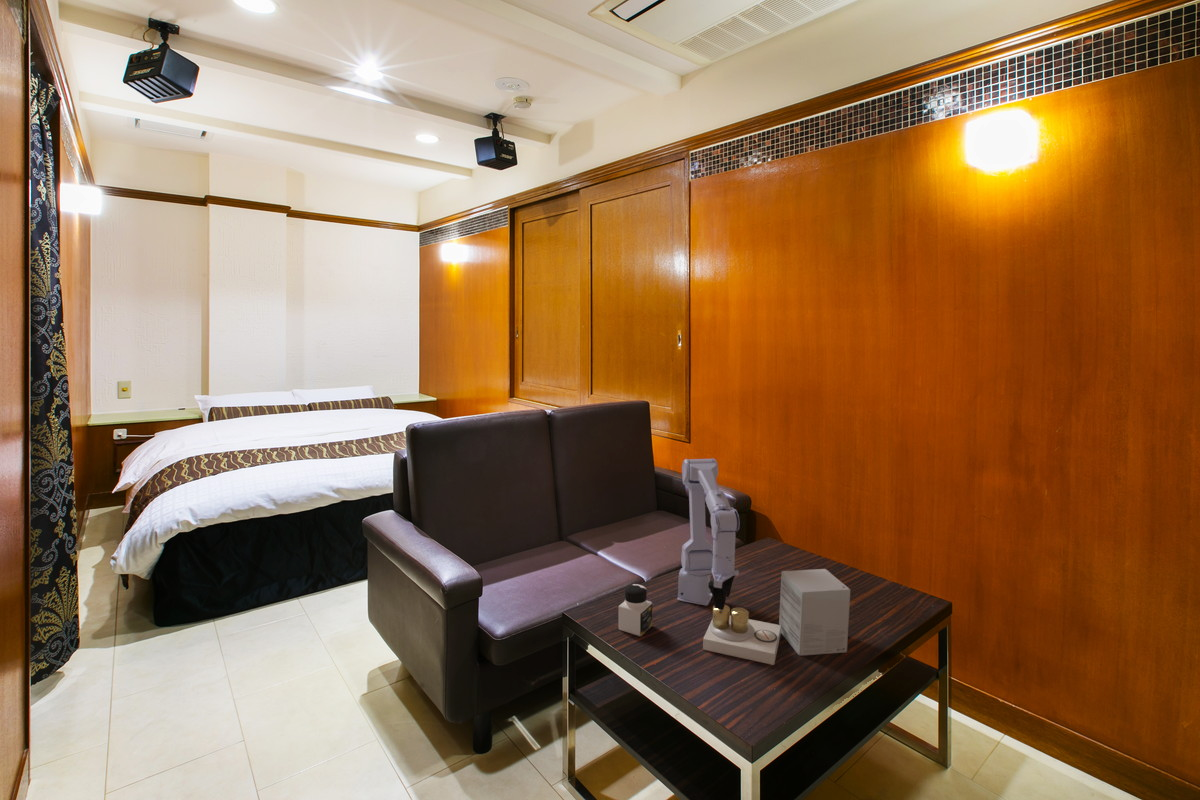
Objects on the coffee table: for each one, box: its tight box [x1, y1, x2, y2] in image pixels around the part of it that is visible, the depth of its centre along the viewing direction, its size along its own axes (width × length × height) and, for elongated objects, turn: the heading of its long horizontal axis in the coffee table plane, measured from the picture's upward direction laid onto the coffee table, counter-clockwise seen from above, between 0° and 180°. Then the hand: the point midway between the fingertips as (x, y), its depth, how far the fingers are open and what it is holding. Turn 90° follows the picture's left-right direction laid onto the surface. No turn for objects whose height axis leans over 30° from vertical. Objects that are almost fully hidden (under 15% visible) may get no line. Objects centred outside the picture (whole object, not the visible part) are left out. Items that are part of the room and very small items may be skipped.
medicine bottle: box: [618, 583, 653, 637], centre depth 163 cm, size 7×7×12 cm
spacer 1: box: [712, 604, 731, 630], centre depth 158 cm, size 4×4×5 cm
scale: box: [702, 615, 782, 666], centre depth 156 cm, size 18×15×4 cm
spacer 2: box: [730, 606, 750, 634], centre depth 156 cm, size 4×4×5 cm
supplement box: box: [778, 568, 851, 657], centre depth 156 cm, size 13×13×18 cm
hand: (722, 602), depth 158 cm, fingers open, 7 cm apart
